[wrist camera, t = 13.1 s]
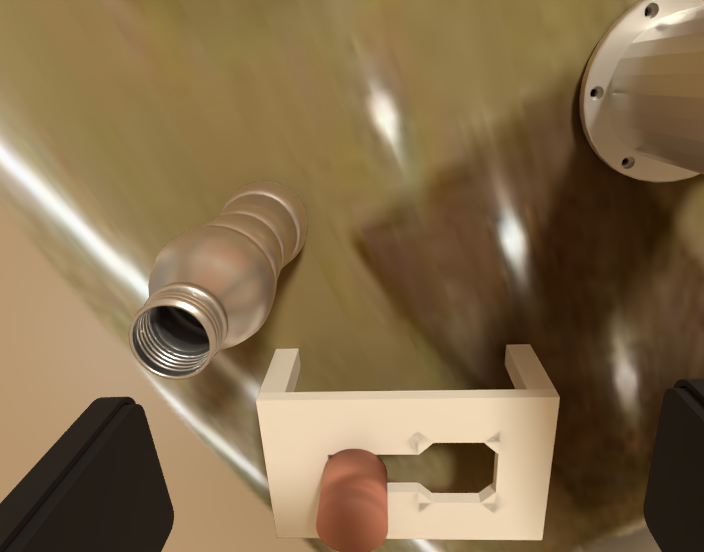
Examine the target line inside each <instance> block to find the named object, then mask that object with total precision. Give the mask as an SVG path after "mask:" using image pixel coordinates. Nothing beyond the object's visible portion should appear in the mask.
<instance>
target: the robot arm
mask: <svg viewBox="0 0 704 552" xmlns="http://www.w3.org/2000/svg"><path fill="white" fill-rule="evenodd" d="M645 8H647V10H648V14H647V16H645V13H644V11H645ZM592 89H594V90H595V94H594V96H592V97H591V96H590V92H591V90H592ZM579 104H580V119H581V123H582V127H583V132H584V134H585V136H586V138H587V140H588V143H589V145H590V147H591V148H592V149H593V151H594V152H595V153H596V154H597V156H598V157H599V158H600V159H601V160H602V161H603V162H604V163H606V164H607V165H608V166H609V167H611V168H612V169H614V170H616V171H618V172H620V173H622V174H624V175H626V176H629V177H632V178H635V179H638V180H642V181H649V182H674V181H678V180H683V179H688V178H691V177H694V176H697V175H699V174H704V0H641V1H640V2H638V3H637V4H635V5H634V6H632V7H631V8H630V9H628V10H627V11H626V12H625V13H624V14H623V15H622V16H621V17H619V18H618V19H617V20H616V21H615V22H614V23H613V24H612V25H611V26H610V28H609V29H608V30H607V32H606V33H605V34H604V36H603V37H602V38H601V40H600V41H599V42H598V44H597V46H596V48H595V50H594V52H593V54H592V55H591V57H590V59H589V61H588V64H587V67H586V70H585V73H584V76H583V79H582V84H581V91H580V97H579ZM624 158H625V159H626V161H625V163H624V164H622V161H623V159H624ZM644 516H645V521H646V524H647V526H648V528H649V530H650V532H651V534H652V536H653V537H654V539H655V540H656V542H657V544H658V546H659V548H660V549H661V551H662V552H704V379H681V380H679V381H677V382H676V383H675V385H674V388H670V389H667V390H666V392H665V394H664V398H663V403H662V408H661V414H660V419H659V425H658V430H657V436H656V441H655V447H654V452H653V457H652V463H651V468H650V474H649V479H648V485H647V490H646V496H645V501H644ZM173 521H174V511H173V507H172V503H171V500H170V497H169V493H168V490H167V486H166V483H165V479H164V476H163V473H162V469H161V466H160V462H159V459H158V456H157V452H156V449H155V445H154V442H153V439H152V435H151V432H150V429H149V425H148V422H147V418H146V415H145V411H144V409H143V407H142V406H141V405H139V404H136V403H135V401H134V400H133V399H132V398H130V397H105V398H98V399H96V400H95V401H93V402H92V403H91V404H90V406H89V407H88V408H87V409H86V410H85V411H84V412H83V413H82V414H81V415H80V417H79V418H78V419H77V420H76V421H75V422H74V423H73V424H72V425H71V426H70V428H69V429H68V430H67V431H66V432H65V433H64V434H63V435H62V436H61V437H60V439H59V440H58V441H57V442H56V443H55V444H54V445H53V446H52V447H51V448H50V450H49V451H48V452H47V453H46V454H45V455H44V456H43V457H42V458H41V460H39V462H38V463H37V464H36V465H35V466H34V467H33V468H32V469H31V471H30V472H29V473H28V474H27V475H26V476H25V477H24V478H23V479H22V480H21V481H20V482H19V484H18V485H17V486H16V487H15V488H14V489H13V490H12V491H11V492H10V493H9V495H8V496H7V497H6V498H5V499H4V500H3V501H2V502H1V503H0V552H161V551H162V549H163V547H164V545H165V542H166V540H167V538H168V536H169V534H170V532H171V529H172V526H173Z"/></svg>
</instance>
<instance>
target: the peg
mask: <svg viewBox="0 0 704 552" xmlns="http://www.w3.org/2000/svg"><path fill="white" fill-rule="evenodd" d="M316 530H317V533H318V536H319V537H320V539H321V540H322V541H323V542H324V543H325V544H326V545H327V546H329V547H330V548H332V549H334V550H336V551H339V552H369V551H372V550H374V549H376V548H377V547H379V546H380V545H381V544H382V543H383V542H384V540H385V539H386V537H387V533H388V491H387V469H386V466H385V464H384V463H383V461H382V460H381V459H380V458H379V457H378V456H376V455H375V454H373V453H371V452H369V451H366V450H363V449H345V450H342V451H339V452H337V453H335V454H334V455H332V456H331V457H330V458H329V459H328V461H327V462H326V464H325V467H324V473H323V480H322V486H321V493H320V500H319V507H318V513H317V520H316Z"/></svg>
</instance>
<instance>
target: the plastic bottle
mask: <svg viewBox="0 0 704 552" xmlns="http://www.w3.org/2000/svg"><path fill="white" fill-rule="evenodd" d="M307 227H308V226H307V216H306V212H305V209H304V206H303V204H302V202H301V200H300V199H299V198H298V197H297V195H296V194H295V193H294V192H293V191H291V190H290V189H289V188H287V187H286V186H284V185H282V184H279V183H276V182H269V181H262V182H253V183H250V184H247V185H244V186H243V187H241V188H239V189H238V190H236V191H235V192H234V193H233V194H232V195H231V196H230V198H229V199H228V201H227V202H226V204H225V205H224V207H223V209H222V211H221V213H220V215H219V216H218V217H217V218H216V219H214V220H213V221H211V222H209V223H207V224H204V225H201V226H198V227H196V228H193V229H189V230H188V231H186V232H184V233H182V234H180V235H179V236H177V237H175V238H173V239H172V240H171V241H170V242H169V243H168V244H167V245H165V246H164V247H163V249H162V250H161V252H160V253H159V255H158V256H157V259H156V261H155V264H154V266H153V269H152V271H151V274H150V280H149V298H148V300H147V301H146V303H145V304H144V306H143V307H142V308H141V309H140V310H139V311H138V312H137V314H136V315H135V317H134V319H133V320H132V323H131V325H130V328H129V343H130V347H131V350H132V352H133V354H134V356H135V357H136V359H137V360H138V361H139V363H140V364H141V365H142V366H144V367H145V368H146V369H147V370H149V371H150V372H152V373H153V374H155V375H158V376H160V377H163V378H167V379H173V380H180V379H187V378H190V377H193V376H195V375H197V374H198V373H200V372H201V371H202V370H204V368H206V367H207V365H208V364H209V363H210V361H211V360H212V358H213V356H215V355H216V354H217V353H218V351H219V350H220V349H225V348H229V347H233V346H235V345H237V344H239V343H241V342H243V341H245V340H246V339H248V338H249V337H250V336H252V335H253V334H254V333H256V332H257V331H258V330H259V329H260V328H261V327H262V325H263V324H264V323H265V321H266V320H267V318H268V316H269V314H270V311H271V308H272V305H273V302H274V298H275V293H276V286H277V280H278V277H279V274H280V271H281V269H282V268H283V267H284V266H286V265H287V264H288V263H289V262H290V261H292V260H293V259H294V258H295V257H296V255H297V254H298V253H299V252H300V251H301V249H302V247H303V245H304V243H305V240H306V236H307Z"/></svg>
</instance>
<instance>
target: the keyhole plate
mask: <svg viewBox="0 0 704 552" xmlns="http://www.w3.org/2000/svg"><path fill="white" fill-rule="evenodd" d="M505 367H506V369H507V371H508V373H509V376H510V378H511V380H512V383H513V385H514V387H515V389H512V390H432V391H352V392H294V390H295V386H296V383H297V379H298V375H299V372H300V368H301V367H300V358H299V349H276V351H275V353H274V356H273V358H272V361H271V364H270V366H269V369H268V371H267V374H266V376H265V379H264V381H263V384H262V386H261V389H260V392H259V394H258V397H257V399H256V404H257V411H258V417H259V424H260V430H261V437H262V443H263V450H264V457H265V463H266V470H267V476H268V483H269V489H270V496H271V502H272V509H273V515H274V521H275V528H276V535H277V538H320V537H319V536H318V533H317V530H316V520H317V513H318V507H319V500H320V493H321V486H322V480H323V473H324V467H325V464H326V462H327V461H328V459H329V458H330V455H334V454H335V453H337V452H339V451H342V450H345V449H363V450H366V451H369V452H371V453H373V454H375V455H397V454H418V455H419V454H420V453H421V452H423V451H424V450H425V449H427V448H428V447H429V446H430V445H432V444H433V443H485V444H486V445H487V446H489V447H490V448H491V449H492V450H494V451H495V461H494V476H493V483H492V484H490V485H489V486H487V487H486V488H485V489H483V490H482V491H480V492H479V493H431V492H430V491H429V490H427V489H426V488H425V487H423V486H422V485H421V484H419V483H387V491H388V533H387V537H386V539H468V540H542V537H543V529H544V521H545V513H546V505H547V497H548V489H549V481H550V473H551V465H552V457H553V449H554V441H555V433H556V425H557V417H558V409H559V401H560V396H559V395H558V393H557V391H556V389H555V388H554V386H553V384H552V382H551V381H550V379H549V377H548V375H547V373H546V372H545V370H544V368H543V366H542V365H541V363H540V361H539V359H538V357H537V356H536V354H535V352H534V350H533V349H532V347H531V345H530V344H515V345H506V354H505Z"/></svg>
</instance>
